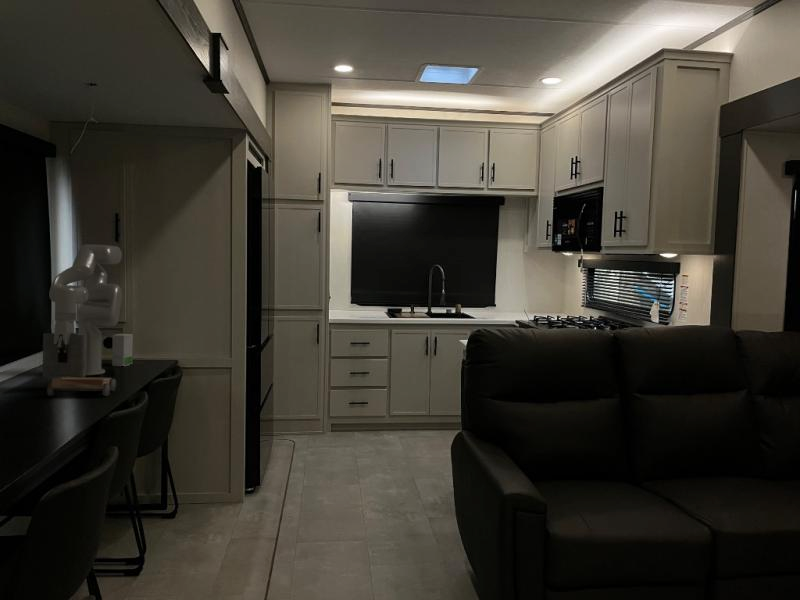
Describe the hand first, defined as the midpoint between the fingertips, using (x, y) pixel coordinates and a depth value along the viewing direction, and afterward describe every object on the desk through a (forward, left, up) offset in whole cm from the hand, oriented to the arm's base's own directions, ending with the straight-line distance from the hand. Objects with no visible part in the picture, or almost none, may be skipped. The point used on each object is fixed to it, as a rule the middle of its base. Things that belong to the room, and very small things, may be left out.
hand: (64, 360), depth 244 cm
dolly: (+9, +10, -11) cm, 18 cm away
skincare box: (-53, +10, -11) cm, 55 cm away
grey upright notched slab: (0, 0, -7) cm, 7 cm away
